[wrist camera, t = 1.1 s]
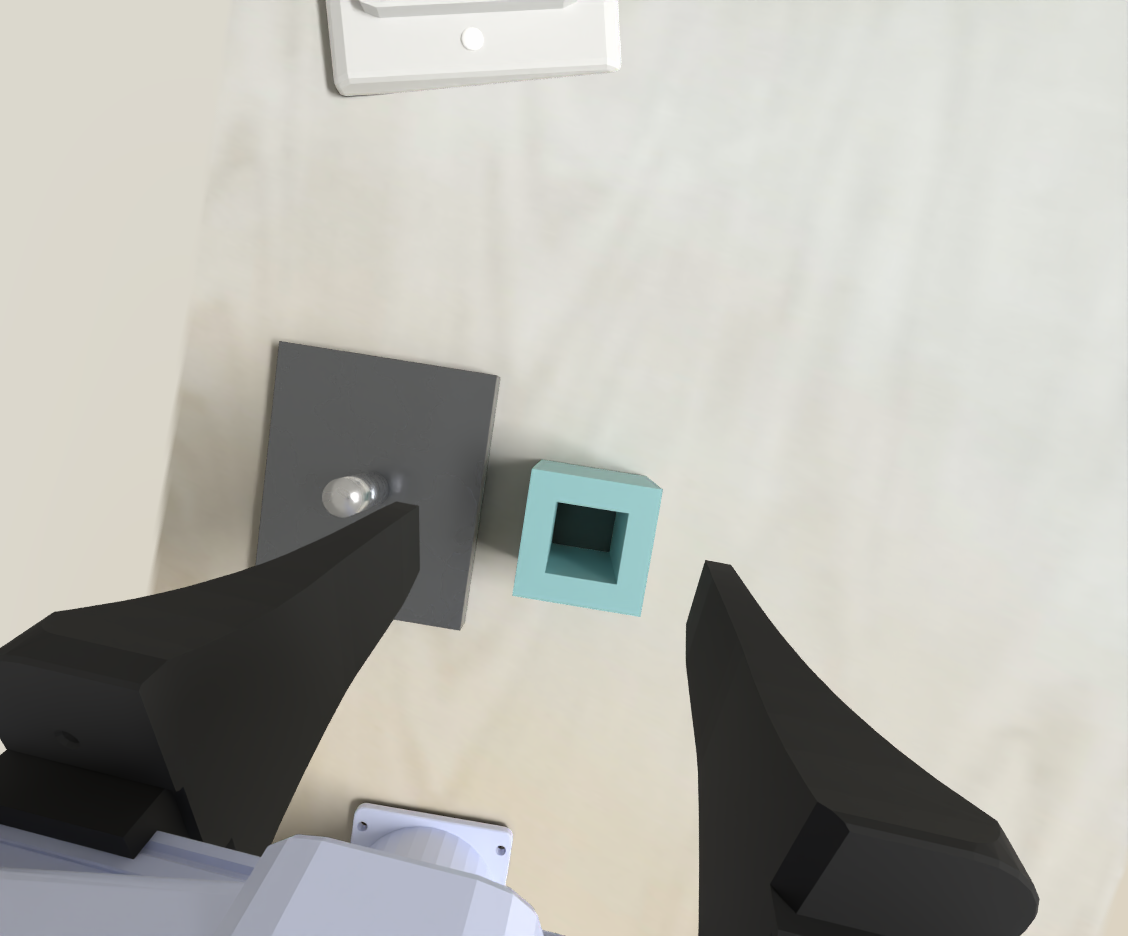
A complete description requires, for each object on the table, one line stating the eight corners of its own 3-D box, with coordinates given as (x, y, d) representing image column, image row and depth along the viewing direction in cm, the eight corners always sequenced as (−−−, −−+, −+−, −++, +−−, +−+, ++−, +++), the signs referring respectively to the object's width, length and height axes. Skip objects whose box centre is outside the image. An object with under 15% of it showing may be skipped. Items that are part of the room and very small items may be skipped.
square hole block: (628, 578, 25) (640, 616, 20) (525, 561, 25) (512, 595, 20) (645, 476, 25) (662, 489, 20) (541, 459, 25) (532, 468, 20)
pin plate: (464, 622, 25) (443, 659, 21) (265, 589, 26) (207, 619, 22) (500, 377, 24) (484, 368, 20) (291, 344, 25) (235, 329, 21)
